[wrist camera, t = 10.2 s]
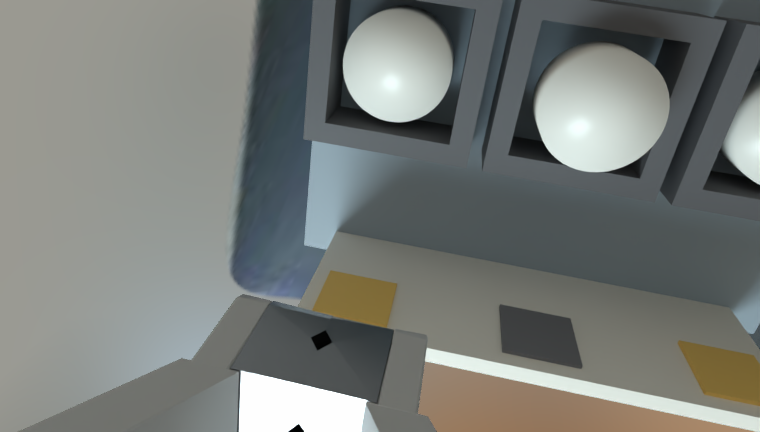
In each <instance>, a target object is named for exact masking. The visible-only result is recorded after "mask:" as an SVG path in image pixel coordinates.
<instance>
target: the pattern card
mask: <svg viewBox="0 0 760 432" xmlns="http://www.w3.org/2000/svg"><path fill="white" fill-rule="evenodd" d="M298 307H300V308H304V309H308V310H312V311H316V312H320V313H324V314H328V315H332V316H335V317H339V318H344V319H348V320H353V321H358V322H362V323H367V324H371V325H376V326H380V327H385V328H390V329H394V333H395V329H399V330H404V331H410V332H415V333H420V334H425V335H427V338H428V343H427V350H426V357H425V361H427V362H432V363H436V364H441V365H446V366H450V367H455V368H460V369H465V370H469V371H474V372H479V373H483V374H488V375H493V376H497V377H502V378H507V379H511V380H516V381H521V382H526V383H530V384H535V385H540V386H544V387H550V388H554V389H558V390H563V391H568V392H573V393H577V394H582V395H587V396H592V397H596V398H601V399H606V400H610V401H615V402H620V403H624V404H629V405H634V406H638V407H643V408H648V409H653V410H658V411H662V412H667V413H671V414H676V415H682V416H686V417H690V418H695V419H700V420H704V421H709V422H714V423H719V424H723V425H728V426H733V427H738V428H742V429H747V430H751V431H756V432H760V349H759V348H758V347H757V345H756V344H755V342H754V341H753V340H752V338H751V337H750V336H749V334H748V333H747V331H746V330H745V329H744V327H743V326H742V324H741V323H740V322H739V320H738V319H737V317H736V316H735V315H734V313H733V312H732V310H731V309H730V308H729V307H724V306H719V305H714V304H709V303H703V302H698V301H693V300H688V299H683V298H678V297H673V296H667V295H662V294H657V293H652V292H647V291H642V290H637V289H631V288H626V287H621V286H616V285H611V284H606V283H601V282H595V281H590V280H585V279H580V278H575V277H570V276H565V275H559V274H554V273H549V272H544V271H539V270H534V269H529V268H523V267H518V266H513V265H508V264H503V263H498V262H493V261H487V260H482V259H477V258H472V257H467V256H462V255H457V254H451V253H446V252H441V251H436V250H431V249H426V248H420V247H415V246H410V245H405V244H400V243H395V242H390V241H384V240H379V239H374V238H369V237H364V236H359V235H354V234H348V233H343V232H338V231H336V233H335V235H334V237H333V239H332V241H331V243H330V245H329V246H328V248H327V250H326V252H325V254H324V256H323V258H322V260H321V262H320V264H319V266H318V268H317V270H316V272H315V274H314V276H313V278H312V280H311V282H310V284H309V286H308V288H307V289H306V291H305V293H304V295H303V297H302V299H301V301H300V303H299V305H298ZM393 337H394V335H393ZM392 341H393V340H392Z"/></svg>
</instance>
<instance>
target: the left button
mask: <svg viewBox="0 0 760 432" xmlns="http://www.w3.org/2000/svg"><path fill="white" fill-rule="evenodd" d="M453 67H454V49H453V44H452V40H451V38H450V35H449V33H448V32H447V30H446V28H445V27H444V25H443V24H442V23H441V22H440V21H439V20H438V19H437V18H436V17H435V16H434V15H432V14H431V13H429V12H428V11H426V10H424V9H421V8H419V7H415V6H409V5H398V6H393V7H389V8H386V9H384V10H382V11H380V12H378V13H376V14H374V15H373V16H371V17H369V18H368V19H366V20H365V21H364V22H362V23H361V24H360V25H359V26H358V27H357V28H356V30H355V31H354V32H353V34H352V35H351V37H350V38H349V41H348V43H347V45H346V48H345V52H344V57H343V74H344V79H345V82H346V85H347V88H348V90H349V92H350V94H351V96H352V97H353V99H354V100H355V101H356V103H357V104H358V105H359V106H360V107H361V108H362V109H363V110H365V111H366V112H367V113H369V114H370V115H372V116H374V117H376V118H379V119H381V120H385V121H389V122H408V121H412V120H415V119H418V118H420V117H423V116H424V115H426V114H428V113H429V112H430V111H432V110H433V109H434V108H435V107H436V106H437V105H438V104H439V103H440V101H441V100H442V99H443V97H444V95H445V94H446V92H447V90H448V87H449V84H450V80H451V76H452V72H453Z"/></svg>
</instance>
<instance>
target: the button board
mask: <svg viewBox="0 0 760 432" xmlns="http://www.w3.org/2000/svg"><path fill="white" fill-rule="evenodd" d="M398 5H409V6H415V7H419V8H421V9H424V10H426V11H428V12H429V13H431V14H432V15H434V16H435V17H436V18H437V19H438V20H439V21H440V22H441V23H442V24H443V25H444V27H445V28H446V30H447V32H448V33H449V35H450V38H451V40H452V44H453V49H454V67H453V72H452V76H451V80H450V84H449V87H448V90H447V92H446V94H445V95H444V97H443V99H442V100H441V101H440V103H439V104H438V105H437V106H436V107H435V108H434V109H433V110H432V111H430V112H429V113H428V114H426V115H424V116H423V117H420V118H418V119H415V120H412V121H408V122H389V121H385V120H381V119H379V118H376V117H374V116H372V115H370V114H369V113H367V112H366V111H365V110H363V109H362V108H361V107H360V106H359V105H358V104H357V103H356V101H355V100H354V99H353V97H352V96H351V94H350V92H349V90H348V88H347V85H346V82H345V79H344V74H343V57H344V52H345V48H346V45H347V43H348V41H349V38H350V37H351V35H352V34H353V32H354V31H355V30H356V28H357V27H358V26H359V25H360V24H361V23H362V22H364V21H365V20H366V19H368V18H369V17H371V16H373V15H374V14H376V13H378V12H380V11H382V10H384V9H386V8H389V7H393V6H398ZM591 41H607V42H612V43H617V44H619V45H622V46H624V47H626V48H628V49H630V50H631V51H633V52H634V53H636V54H638V55H639V56H641V57H643V58H644V59H646V60H647V61H649V62H650V63H651V64H652V65H653V66H654V67H655V68H656V69H657V70H658V71H659V72H660V74H661V75H662V77H663V78H664V81H665V83H666V85H667V88H668V92H669V99H670V109H669V115H668V119H667V122H666V125H665V128H664V130H663V132H662V134H661V135H660V137H659V139H658V140H657V141H656V143H655V144H654V145H653V146H652V147H651V148H650V149H649V150H648V151H647V152H646V153H645V154H644V155H643V156H641V157H640V158H639V159H637V160H636V161H634V162H632V163H630V164H628V165H626V166H624V167H621V168H618V169H615V170H611V171H605V172H586V171H581V170H577V169H574V168H571V167H569V166H567V165H565V164H563V163H562V162H560V161H559V160H557V159H556V158H555V157H554V156H553V155H552V154H551V153H550V152H549V150H548V149H547V148H546V146H545V144H544V142H543V140H542V137H541V135H540V132H539V129H538V126H537V124H536V121H535V118H534V113H533V94H534V90H535V87H536V83H537V81H538V79H539V77H540V75H541V74H542V72H543V71H544V69H545V68H546V67H547V65H548V64H549V63H550V62H551V61H552V60H553V59H554V58H555V57H557V56H558V55H559V54H561V53H562V52H564V51H565V50H567V49H569V48H571V47H573V46H575V45H578V44H582V43H585V42H591ZM757 71H760V0H313V9H312V24H311V38H310V52H309V67H308V81H307V95H306V110H305V124H304V138H303V139H306V140H311V141H312V151H311V164H310V177H309V189H308V202H307V215H306V228H305V241H304V245H306V246H311V247H316V248H321V249H326V250H327V248H328V246H329V245H330V243H331V241H332V239H333V237H334V235H335V233H336V231H338V232H343V233H348V234H354V235H359V236H364V237H369V238H374V239H379V240H384V241H390V242H395V243H400V244H405V245H410V246H415V247H420V248H426V249H431V250H436V251H441V252H446V253H451V254H457V255H462V256H467V257H472V258H477V259H482V260H487V261H493V262H498V263H503V264H508V265H513V266H518V267H523V268H529V269H534V270H539V271H544V272H549V273H554V274H559V275H565V276H570V277H575V278H580V279H585V280H590V281H595V282H601V283H606V284H611V285H616V286H621V287H626V288H631V289H637V290H642V291H647V292H652V293H657V294H662V295H667V296H673V297H678V298H683V299H688V300H693V301H698V302H703V303H709V304H714V305H719V306H724V307H729V308H730V309H731V310H732V312H733V313H734V315H735V316H736V317H737V319H738V320H739V322H740V323H741V324H742V326H743V327H744V329H745V330H746V331H747V333H751V334H754V332H755V331H756V329H757V327H758V325H759V323H760V185H759V184H757V183H756V182H754V181H752V180H751V179H750V178H748V177H747V176H746V175H745V174H743V173H742V172H741V171H740V170H738V169H737V168H736V167H735V166H734V165H732V164H731V163H730V162H729V161H727V160H726V159H725V158H724V157H723V156H722V155H721V154H720V152H719V151H720V148H721V146H722V144H723V142H724V139H725V137H726V135H727V132H728V130H729V128H730V126H731V123H732V121H733V119H734V116H735V114H736V112H737V110H738V107H739V105H740V103H741V100H742V98H743V96H744V93H745V91H746V89H747V87H748V84H749V82H750V80H751V77H752V75H753V73H755V72H757Z"/></svg>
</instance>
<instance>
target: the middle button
mask: <svg viewBox="0 0 760 432" xmlns="http://www.w3.org/2000/svg"><path fill="white" fill-rule="evenodd" d="M669 109H670V99H669V92H668V88H667V85H666V83H665V81H664V78H663V77H662V75H661V74H660V72H659V71H658V70H657V69H656V68H655V67H654V66H653V65H652V64H651V63H650V62H649V61H647V60H646V59H644V58H643V57H641V56H639V55H638V54H636V53H634V52H633V51H631V50H630V49H628V48H626V47H624V46H622V45H619V44H617V43H612V42H607V41H591V42H585V43H582V44H578V45H575V46H573V47H571V48H569V49H567V50H565V51H564V52H562V53H561V54H559V55H558V56H557V57H555V58H554V59H553V60H552V61H551V62H550V63H549V64H548V65H547V67H546V68H545V69H544V71H543V72H542V74H541V75H540V77H539V79H538V81H537V83H536V87H535V90H534V94H533V113H534V118H535V121H536V124H537V126H538V129H539V132H540V135H541V137H542V140H543V142H544V144H545V146H546V148H547V149H548V150H549V152H550V153H551V154H552V155H553V156H554V157H555V158H556V159H557V160H559V161H560V162H562V163H563V164H565V165H567V166H569V167H571V168H574V169H577V170H581V171H586V172H605V171H611V170H615V169H618V168H621V167H624V166H626V165H628V164H630V163H632V162H634V161H636V160H637V159H639V158H640V157H641V156H643V155H644V154H645V153H646V152H647V151H648V150H649V149H650V148H651V147H652V146H653V145H654V144H655V143H656V141H657V140H658V139H659V137H660V135H661V134H662V132H663V130H664V128H665V125H666V122H667V119H668V115H669Z"/></svg>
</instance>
